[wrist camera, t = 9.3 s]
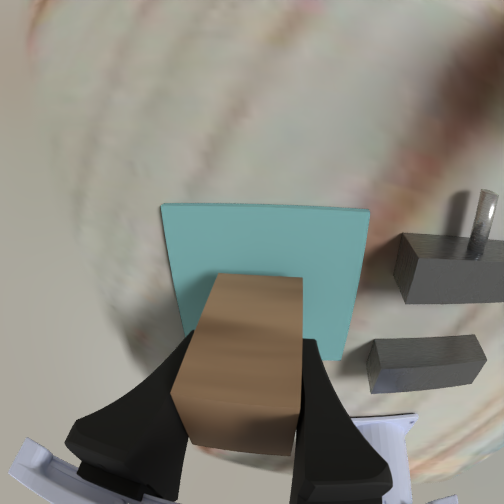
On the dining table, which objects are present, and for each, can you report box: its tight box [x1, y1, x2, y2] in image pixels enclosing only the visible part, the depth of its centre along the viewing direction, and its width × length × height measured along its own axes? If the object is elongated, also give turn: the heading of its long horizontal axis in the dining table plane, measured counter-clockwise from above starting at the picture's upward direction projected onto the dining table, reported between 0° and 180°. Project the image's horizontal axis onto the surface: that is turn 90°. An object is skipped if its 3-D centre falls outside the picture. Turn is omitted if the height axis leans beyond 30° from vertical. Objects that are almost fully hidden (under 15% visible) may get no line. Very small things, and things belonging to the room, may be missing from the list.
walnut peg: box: [170, 273, 303, 456], centre depth 12 cm, size 4×4×7 cm
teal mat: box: [161, 203, 370, 361], centre depth 16 cm, size 10×10×1 cm
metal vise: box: [366, 189, 504, 394], centre depth 14 cm, size 13×8×2 cm, turn 1°
